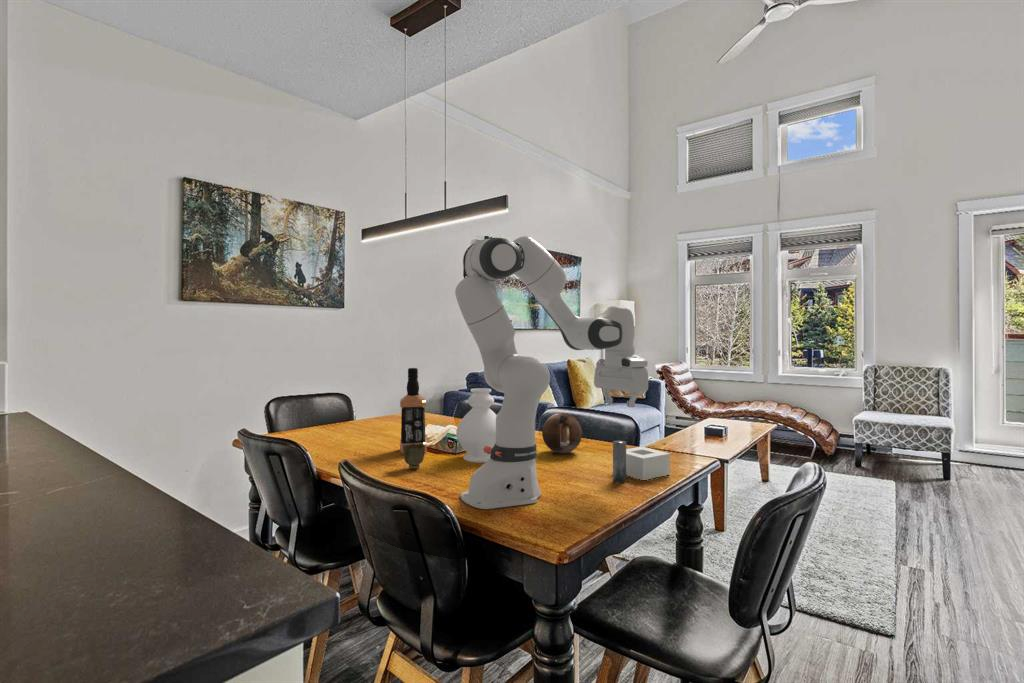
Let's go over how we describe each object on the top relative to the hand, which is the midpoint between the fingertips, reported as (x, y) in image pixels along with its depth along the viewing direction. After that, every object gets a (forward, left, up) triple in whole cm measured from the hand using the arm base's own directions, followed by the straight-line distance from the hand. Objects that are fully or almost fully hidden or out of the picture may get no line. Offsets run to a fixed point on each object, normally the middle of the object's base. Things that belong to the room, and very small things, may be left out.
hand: (619, 405), depth 158 cm
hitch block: (+12, +2, -23) cm, 26 cm away
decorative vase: (-22, +48, -24) cm, 58 cm away
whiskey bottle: (-39, +71, -24) cm, 84 cm away
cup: (-48, +47, -24) cm, 71 cm away
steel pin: (0, 0, -23) cm, 23 cm away
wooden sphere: (+8, +39, -24) cm, 46 cm away
